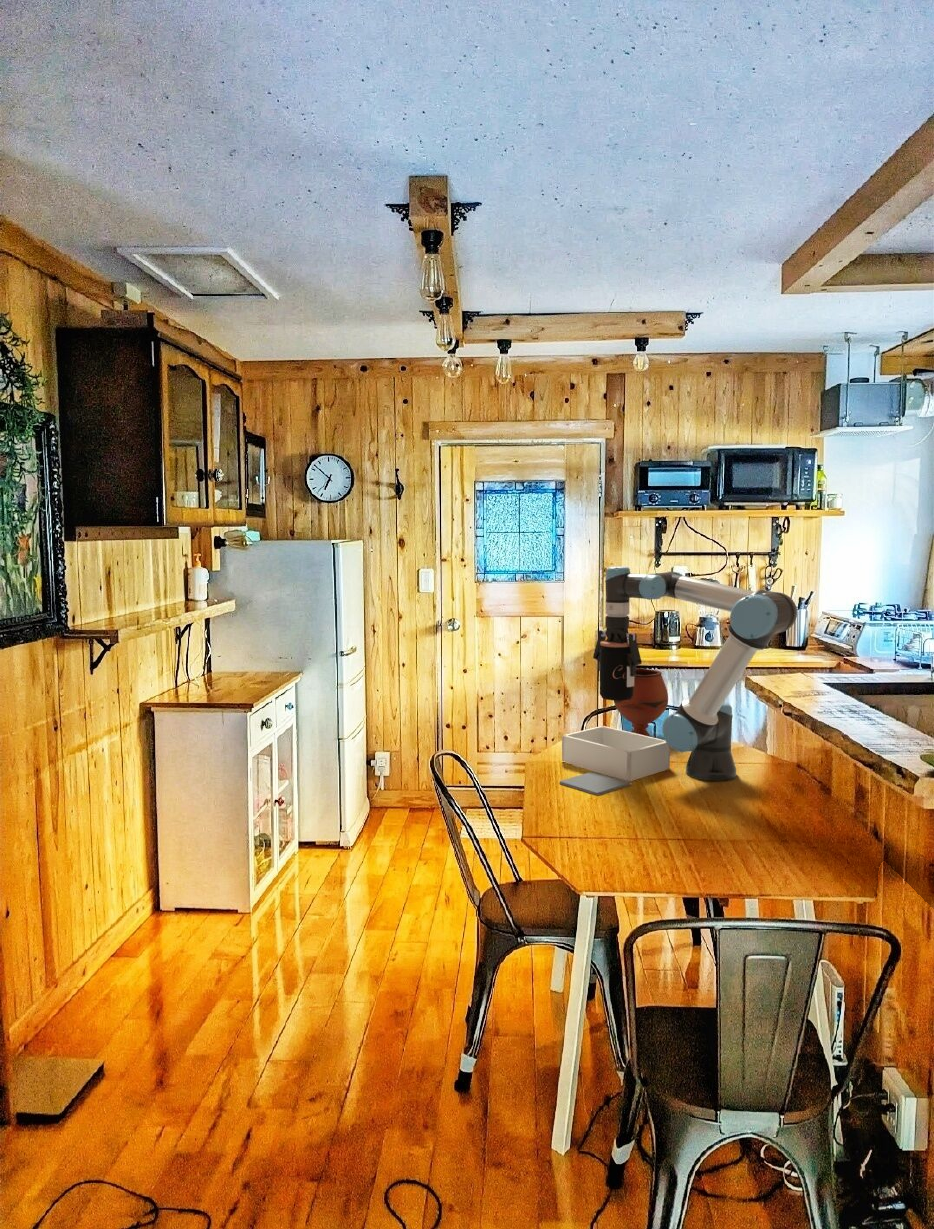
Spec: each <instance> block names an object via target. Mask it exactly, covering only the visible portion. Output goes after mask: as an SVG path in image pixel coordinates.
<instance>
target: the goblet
mask: <svg viewBox="0 0 934 1229" xmlns="http://www.w3.org/2000/svg"><path fill="white" fill-rule="evenodd" d="M662 675H663V673H662V671H660V670H657V669H649V668H648V669H647V668H636V676H634V686H633V696H632V697H631V699H629V700H622V701H615V700H613V704H614V706H615V708H616V710H617V711H618V713H619V714H620V715H621V716H622V717H623V718H625V719H626V720H627V721H628V722H630V723H631V726H632V727H633V729H632V730H631V732H632V733H636V734H640V735H644V736H649V737H652V736H651V734H650V732H648V730H647V728H648V727H649V724H651V723H654V721H656V720H658V719H659V718H660V717H661V716H662V715H663V713H664V712H665V710H666V709H667V707H668V705H669V693H668V689H667V687H666V684H665V681H664V678H663V676H662Z"/></svg>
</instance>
